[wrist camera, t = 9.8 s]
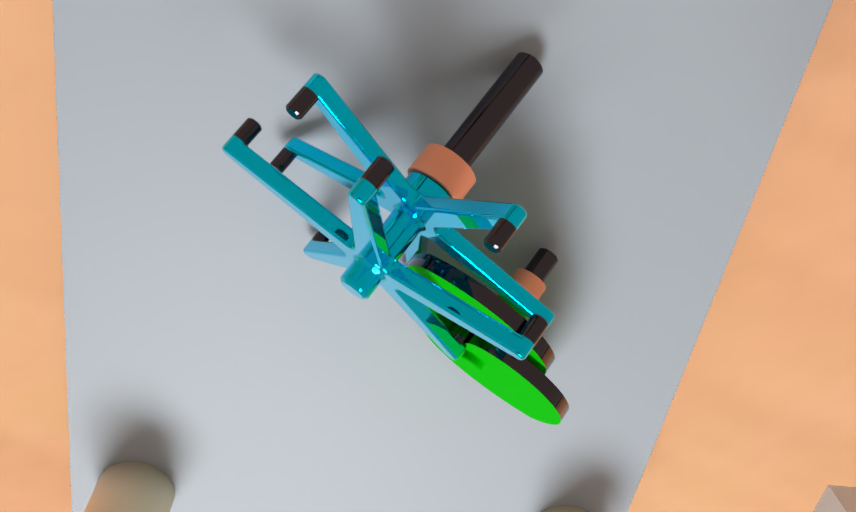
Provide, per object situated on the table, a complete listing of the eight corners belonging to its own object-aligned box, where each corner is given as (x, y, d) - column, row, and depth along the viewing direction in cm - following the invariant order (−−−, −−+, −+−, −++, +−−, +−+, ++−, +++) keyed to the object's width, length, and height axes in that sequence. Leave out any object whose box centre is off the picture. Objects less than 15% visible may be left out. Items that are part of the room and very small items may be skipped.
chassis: (84, 502, 27) (36, 609, 23) (59, -434, 15) (-44, -518, 12) (593, 549, 29) (623, 654, 25) (898, -239, 18) (1033, -258, 14)
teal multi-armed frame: (146, 135, 17) (356, 214, 12) (342, -77, 19) (605, -94, 14) (416, 393, 25) (617, 514, 20) (537, 226, 27) (753, 294, 21)
